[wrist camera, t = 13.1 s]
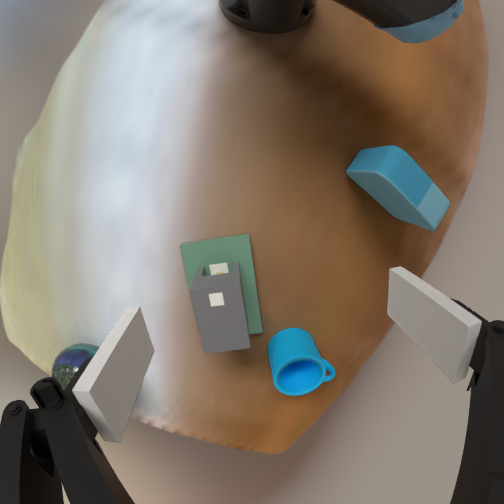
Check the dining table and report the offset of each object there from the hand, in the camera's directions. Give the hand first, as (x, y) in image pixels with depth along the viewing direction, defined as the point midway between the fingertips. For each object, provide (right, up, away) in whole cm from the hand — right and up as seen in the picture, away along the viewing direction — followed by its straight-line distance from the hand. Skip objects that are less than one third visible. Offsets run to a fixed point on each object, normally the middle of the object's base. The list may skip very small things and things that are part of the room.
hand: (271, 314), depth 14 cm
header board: (-5, -3, +30) cm, 31 cm away
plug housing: (-5, -3, +29) cm, 30 cm away
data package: (+19, +14, +28) cm, 36 cm away
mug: (+7, -14, +35) cm, 38 cm away
